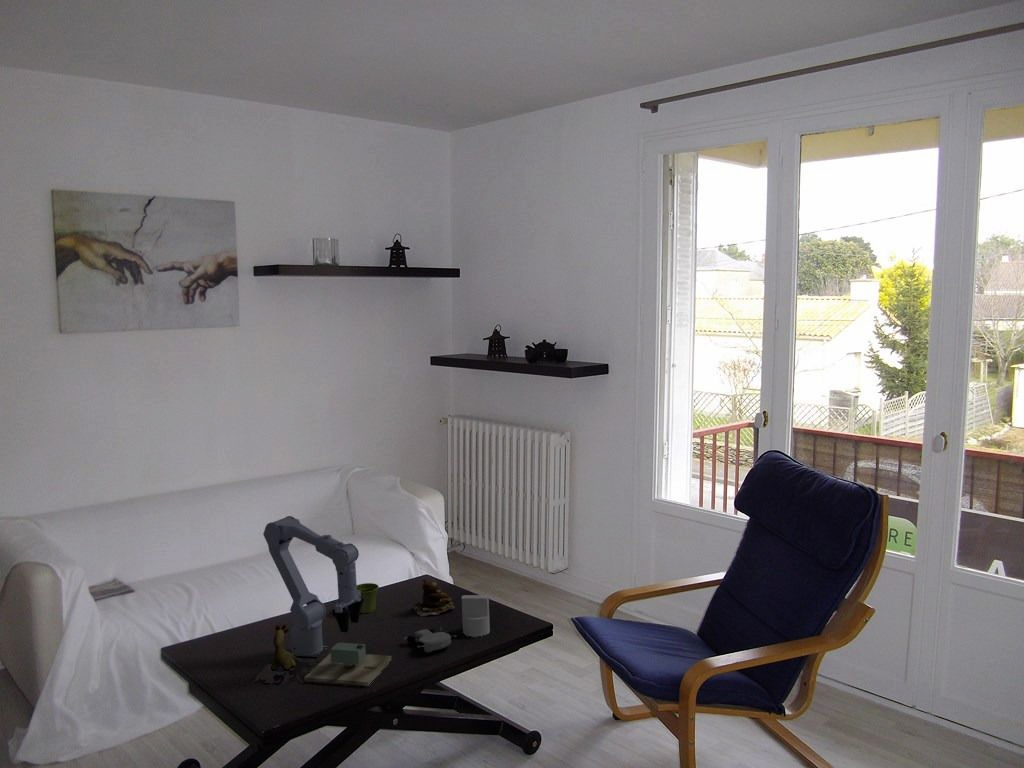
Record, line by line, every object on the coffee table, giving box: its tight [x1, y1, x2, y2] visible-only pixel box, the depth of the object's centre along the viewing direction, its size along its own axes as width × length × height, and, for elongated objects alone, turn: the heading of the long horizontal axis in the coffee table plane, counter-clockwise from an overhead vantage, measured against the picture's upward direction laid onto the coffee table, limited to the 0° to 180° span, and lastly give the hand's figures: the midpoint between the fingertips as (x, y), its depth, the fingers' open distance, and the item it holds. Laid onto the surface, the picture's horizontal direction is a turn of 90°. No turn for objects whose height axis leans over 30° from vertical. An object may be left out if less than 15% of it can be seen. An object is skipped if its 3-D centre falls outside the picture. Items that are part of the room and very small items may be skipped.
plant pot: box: [357, 582, 380, 614], centre depth 294 cm, size 9×9×9 cm
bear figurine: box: [412, 578, 455, 617], centre depth 293 cm, size 14×15×12 cm
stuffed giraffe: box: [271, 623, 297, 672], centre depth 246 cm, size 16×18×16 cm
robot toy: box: [403, 628, 457, 654], centre depth 261 cm, size 12×4×15 cm
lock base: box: [303, 652, 392, 687], centre depth 245 cm, size 20×18×3 cm
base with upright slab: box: [461, 594, 491, 638], centre depth 271 cm, size 9×9×12 cm
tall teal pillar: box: [329, 642, 367, 664], centre depth 244 cm, size 5×9×5 cm, turn 76°
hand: (349, 627), depth 252 cm, fingers open, 7 cm apart
